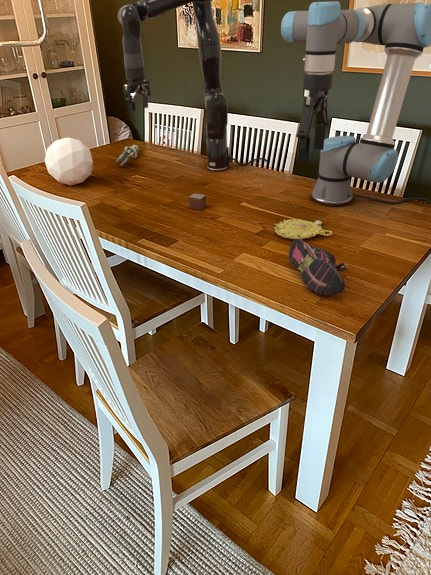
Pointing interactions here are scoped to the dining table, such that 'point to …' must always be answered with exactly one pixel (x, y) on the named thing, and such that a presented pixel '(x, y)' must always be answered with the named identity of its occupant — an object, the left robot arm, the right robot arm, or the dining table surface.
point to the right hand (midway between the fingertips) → (311, 155)
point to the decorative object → (300, 229)
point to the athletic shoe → (317, 268)
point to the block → (197, 201)
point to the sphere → (69, 161)
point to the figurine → (128, 154)
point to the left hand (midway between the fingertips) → (139, 109)
